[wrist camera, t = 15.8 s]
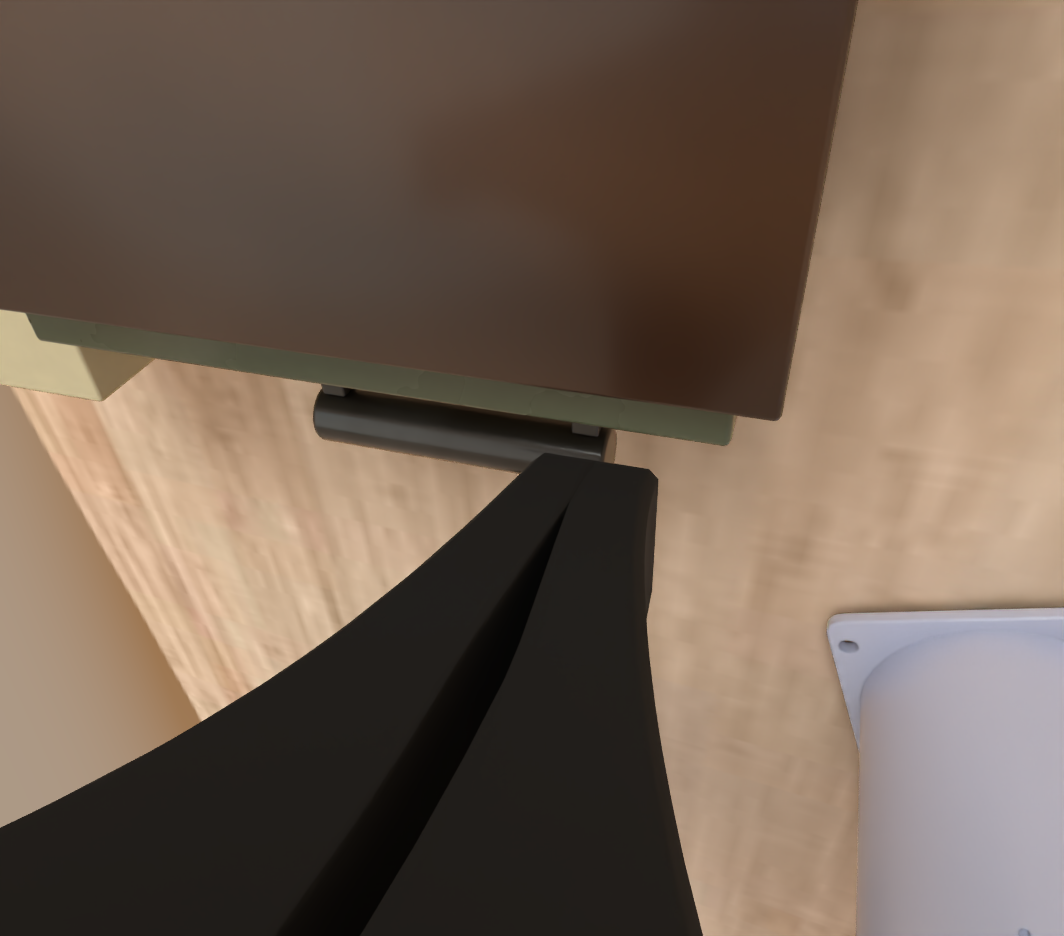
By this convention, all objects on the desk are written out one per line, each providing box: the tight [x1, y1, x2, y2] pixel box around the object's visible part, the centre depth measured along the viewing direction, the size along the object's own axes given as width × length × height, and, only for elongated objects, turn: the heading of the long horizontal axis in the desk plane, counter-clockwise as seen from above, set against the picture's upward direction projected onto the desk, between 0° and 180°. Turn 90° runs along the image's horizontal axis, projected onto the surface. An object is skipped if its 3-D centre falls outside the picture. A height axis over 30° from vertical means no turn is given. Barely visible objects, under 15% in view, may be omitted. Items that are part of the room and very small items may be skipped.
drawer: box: [25, 313, 736, 474], centre depth 13 cm, size 17×12×7 cm
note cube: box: [0, 310, 155, 401], centre depth 20 cm, size 4×4×6 cm
